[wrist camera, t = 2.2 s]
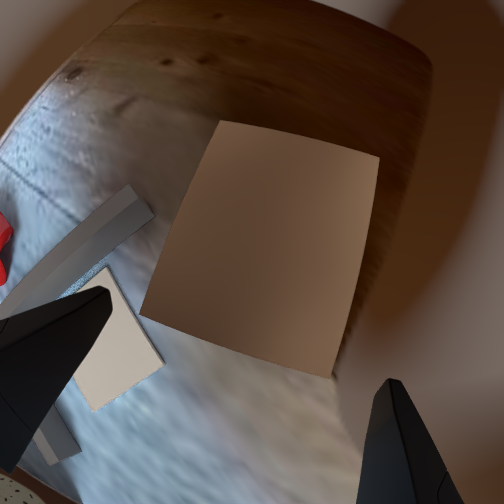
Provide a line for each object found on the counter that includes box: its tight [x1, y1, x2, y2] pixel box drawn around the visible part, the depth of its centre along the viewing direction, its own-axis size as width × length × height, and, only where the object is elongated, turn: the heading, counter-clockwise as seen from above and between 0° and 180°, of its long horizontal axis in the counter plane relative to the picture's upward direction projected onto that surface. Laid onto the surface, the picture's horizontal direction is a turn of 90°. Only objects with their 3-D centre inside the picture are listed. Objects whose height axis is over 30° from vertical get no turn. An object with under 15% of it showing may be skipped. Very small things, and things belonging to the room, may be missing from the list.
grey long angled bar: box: [0, 184, 165, 466], centre depth 17 cm, size 12×17×3 cm
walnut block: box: [139, 120, 379, 379], centre depth 12 cm, size 4×5×13 cm
